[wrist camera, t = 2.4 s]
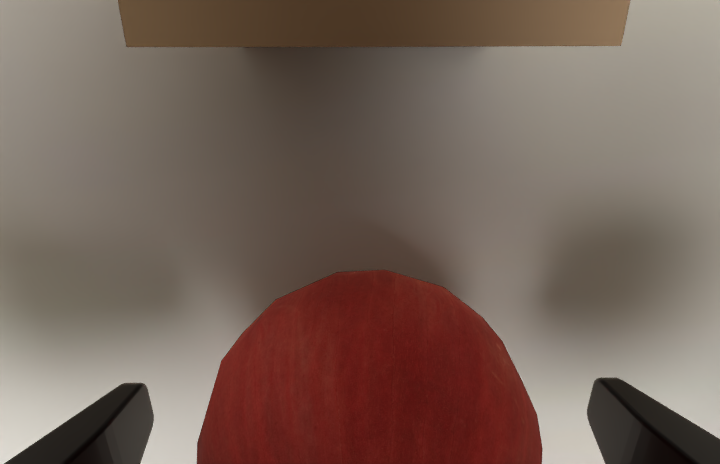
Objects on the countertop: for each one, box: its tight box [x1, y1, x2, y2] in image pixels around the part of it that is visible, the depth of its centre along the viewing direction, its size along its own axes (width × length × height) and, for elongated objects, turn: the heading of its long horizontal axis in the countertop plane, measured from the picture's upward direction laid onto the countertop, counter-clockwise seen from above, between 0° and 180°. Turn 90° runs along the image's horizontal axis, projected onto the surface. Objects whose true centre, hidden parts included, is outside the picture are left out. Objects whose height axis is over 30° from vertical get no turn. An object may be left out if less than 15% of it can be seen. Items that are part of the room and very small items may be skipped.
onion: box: [197, 270, 542, 464], centre depth 8 cm, size 6×6×8 cm
